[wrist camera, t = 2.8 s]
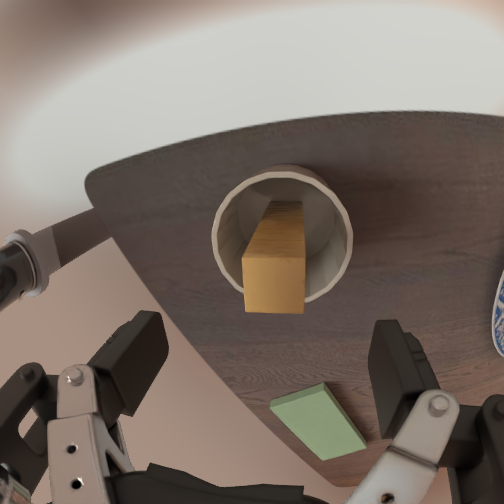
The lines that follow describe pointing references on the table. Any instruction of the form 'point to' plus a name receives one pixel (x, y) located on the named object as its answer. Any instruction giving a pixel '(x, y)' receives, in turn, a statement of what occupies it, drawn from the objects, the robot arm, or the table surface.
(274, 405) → the green rectangular block
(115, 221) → the table surface
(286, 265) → the stick
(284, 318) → the table surface
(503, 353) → the ceramic plate
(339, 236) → the tin
